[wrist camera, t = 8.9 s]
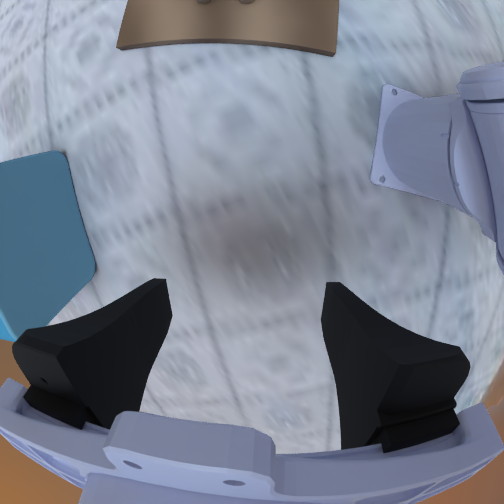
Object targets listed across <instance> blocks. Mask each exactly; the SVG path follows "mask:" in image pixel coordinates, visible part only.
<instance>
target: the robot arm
mask: <svg viewBox="0 0 504 504" xmlns="http://www.w3.org/2000/svg"><path fill="white" fill-rule="evenodd" d="M392 89H394V90H395V91H396V95H393V94H392ZM457 89H458V91H459V93H460V94H453V95H445V96H438V97H431V98H424V97H421V96H419V95H416V94H414V93H411V92H409V91H406V90H404V89H401V88H398V87H395V86H393V85H390V84H385V85H383V86H382V92H381V103H380V112H379V120H378V128H377V135H376V142H375V149H374V155H373V161H372V167H371V173H370V181H371V182H372V183H373V184H376V185H380V186H385V187H389V188H393V189H397V190H401V191H405V192H409V193H413V194H416V195H420V196H424V197H427V198H431V199H434V200H438V201H441V202H444V203H446V204H448V205H450V206H452V207H454V208H456V209H458V210H460V211H462V212H464V213H465V214H467V215H469V216H471V217H473V218H475V219H476V220H477V221H478V222H479V224H480V226H481V228H482V233H483V234H484V235H485V236H487V237H489V238H490V239H492V240H493V241H495V242H496V257H497V262H498V265H499V267H500V269H501V271H502V273H503V274H504V61H502V62H497V63H492V64H488V65H484V66H480V67H476V68H473V69H470V70H467V71H464V72H463V73H462V76H461V79H460V82H459V83H458V84H457ZM381 176H384V181H383V182H380V181H379V178H380V177H381ZM171 319H172V310H171V305H170V300H169V294H168V288H167V283H166V279H156V278H154V279H152V280H149V281H148V282H146V283H144V284H142V285H141V286H139V287H137V288H136V289H134V290H132V291H131V292H129V293H128V294H126V295H124V296H123V297H121V298H119V299H117V300H115V301H114V302H112V303H110V304H108V305H107V306H105V307H103V308H101V309H98V310H96V311H94V312H92V313H89V314H87V315H84V316H81V317H79V318H76V319H73V320H70V321H67V322H63V323H59V324H55V325H51V326H45V327H38V328H31V329H27V330H25V331H24V332H23V334H22V335H21V336H20V337H19V338H18V339H17V340H16V341H15V342H14V344H13V346H12V352H13V355H14V358H15V360H16V362H17V364H18V365H19V367H20V369H21V370H22V372H23V373H24V375H25V376H26V378H27V380H28V381H29V382H30V384H31V386H30V387H29V389H27V388H26V387H25V386H23V385H22V384H20V383H18V382H16V381H14V380H13V379H11V378H8V379H7V380H6V381H5V382H4V384H3V385H2V387H1V388H0V434H1V435H2V436H4V437H5V439H7V440H8V441H9V442H10V443H11V444H12V445H13V446H14V447H15V448H17V449H18V450H19V451H21V452H22V453H24V454H25V455H26V456H28V457H29V458H31V459H32V460H34V461H35V462H37V463H38V464H40V465H42V466H43V467H45V468H46V469H48V470H50V471H51V472H53V473H55V474H56V475H58V476H60V477H62V478H63V479H65V480H67V481H69V482H70V483H72V484H74V485H76V486H78V487H80V488H82V489H83V492H82V495H81V498H80V500H79V503H78V504H414V503H416V502H419V501H422V500H424V499H427V498H429V497H431V496H434V495H436V494H438V493H440V492H442V491H444V490H447V489H449V488H451V487H453V486H455V485H457V484H459V483H461V482H463V481H465V480H467V479H468V478H470V477H471V476H473V475H474V474H475V473H476V472H478V471H479V470H480V469H482V468H483V467H484V466H485V465H487V464H488V463H489V462H490V461H492V460H493V459H494V458H495V457H496V456H497V455H499V454H500V453H501V452H502V451H503V450H504V445H503V443H502V441H501V438H500V436H499V434H498V432H497V430H496V428H495V425H494V423H493V421H492V419H491V417H490V416H489V414H488V412H487V410H486V408H485V406H484V404H483V403H479V404H477V405H474V406H472V407H469V408H467V409H464V410H462V411H461V412H459V413H458V414H457V415H456V413H455V411H454V408H455V407H456V404H457V403H456V401H455V399H454V396H455V395H456V394H457V392H458V391H459V389H460V388H461V386H462V385H463V383H464V382H465V380H466V378H467V376H468V374H469V370H470V362H469V361H468V359H467V357H466V356H465V354H464V353H463V351H462V350H461V348H460V347H458V346H454V345H450V344H446V343H442V342H438V341H435V340H432V339H429V338H426V337H423V336H421V335H418V334H416V333H414V332H412V331H409V330H407V329H405V328H403V327H401V326H399V325H397V324H396V323H394V322H392V321H391V320H389V319H387V318H386V317H384V316H383V315H381V314H380V313H378V312H377V311H375V310H374V309H373V308H371V307H370V306H369V305H367V304H366V303H365V302H364V301H362V300H361V299H360V298H359V297H357V296H356V295H355V294H354V293H353V292H351V291H350V290H349V289H348V288H347V287H345V286H344V285H343V284H342V283H340V282H326V290H325V297H324V303H323V310H322V316H321V324H322V331H323V338H324V341H325V345H326V349H327V352H328V356H329V359H330V363H331V366H332V370H333V374H334V378H335V382H336V389H337V396H338V405H339V415H340V429H341V450H336V451H327V452H316V453H300V454H275V444H274V442H273V440H272V438H271V437H270V436H268V435H267V434H264V433H262V432H260V431H258V430H256V429H254V428H249V427H243V426H237V425H230V424H218V423H207V422H199V421H191V420H184V419H177V418H171V417H165V416H160V415H154V414H149V413H145V412H139V410H140V405H141V401H142V397H143V393H144V390H145V386H146V383H147V379H148V376H149V373H150V371H151V368H152V366H153V364H154V361H155V359H156V357H157V355H158V353H159V350H160V348H161V346H162V344H163V342H164V339H165V337H166V335H167V333H168V329H169V326H170V323H171Z"/></svg>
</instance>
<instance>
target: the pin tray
mask: <svg viewBox="0 0 504 504" xmlns="http://www.w3.org/2000/svg"><path fill="white" fill-rule="evenodd" d="M338 14H339V0H128V2H127V6H126V9H125V13H124V16H123V20H122V24H121V28H120V32H119V37H118V41H117V46H116V48H118V49H120V50H128V49H134V48H141V47H149V46H158V45H170V44H186V43H236V44H252V45H263V46H273V47H281V48H288V49H295V50H301V51H307V52H312V53H317V54H322V55H327V56H331V57H333V56H334V55H335V53H336V45H337V31H338Z"/></svg>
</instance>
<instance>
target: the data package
mask: <svg viewBox="0 0 504 504" xmlns="http://www.w3.org/2000/svg"><path fill="white" fill-rule="evenodd" d="M94 272H95V260H94V256H93V253H92V250H91V247H90V244H89V241H88V238H87V235H86V232H85V229H84V225H83V222H82V219H81V215H80V211H79V208H78V204H77V200H76V196H75V192H74V188H73V184H72V179H71V175H70V170H69V165H68V162H67V160H66V158H65V156H64V155H63V154H62V153H61V152H59V151H49V152H44V153H39V154H34V155H30V156H25V157H21V158H17V159H13V160H9V161H5V162H1V163H0V339H3V340H8V341H13V342H15V341H16V340H17V339H18V338H19V337H20V336H21V335H22V334H23V332H24V331H25V330H27V329H31V328H38V327H45V326H47V325H48V323H49V322H50V321H51V320H52V319H53V318H54V317H55V316H56V315H57V314H58V313H59V312H60V311H61V310H62V308H63V307H64V306H65V305H66V304H67V303H68V302H69V301H70V300H71V299H72V298H73V297H74V296H75V295H76V294H77V293H78V292H79V291H80V290H81V289H82V288H83V287H84V286H85V285H86V284H87V283H88V282H89V281H90V280H91V279H92V278H93V276H94Z"/></svg>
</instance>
